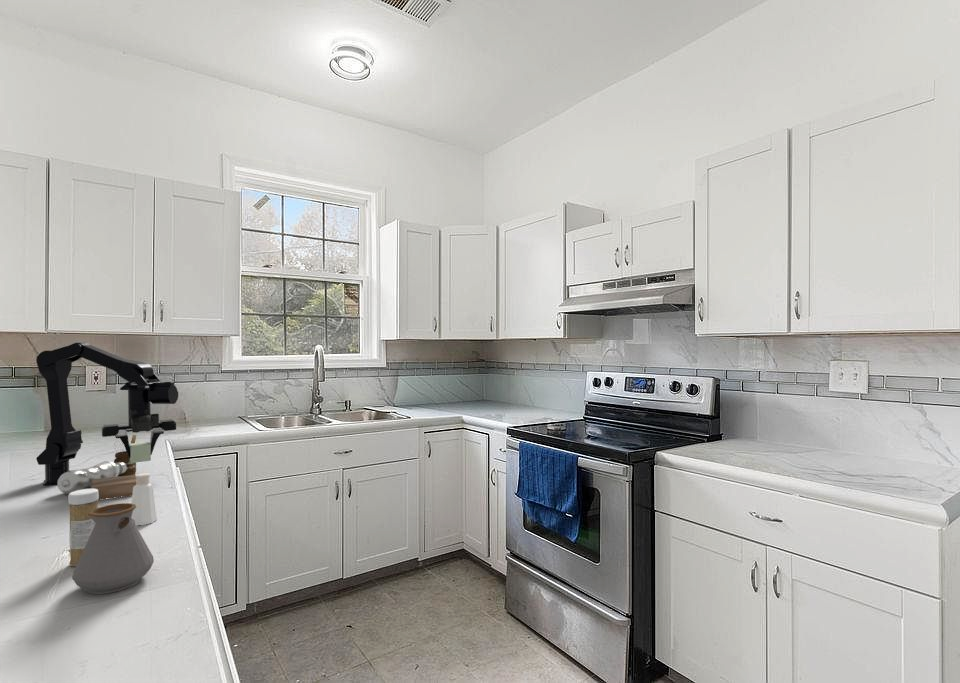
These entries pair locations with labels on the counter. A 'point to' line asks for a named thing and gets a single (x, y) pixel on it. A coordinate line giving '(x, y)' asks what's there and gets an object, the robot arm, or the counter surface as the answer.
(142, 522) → the salt shaker
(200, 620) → the counter surface
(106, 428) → the robot arm
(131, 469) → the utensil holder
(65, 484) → the plastic bottle
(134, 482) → the walnut block
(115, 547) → the coffee pot
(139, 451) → the sage cube
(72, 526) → the sprinkles bottle
